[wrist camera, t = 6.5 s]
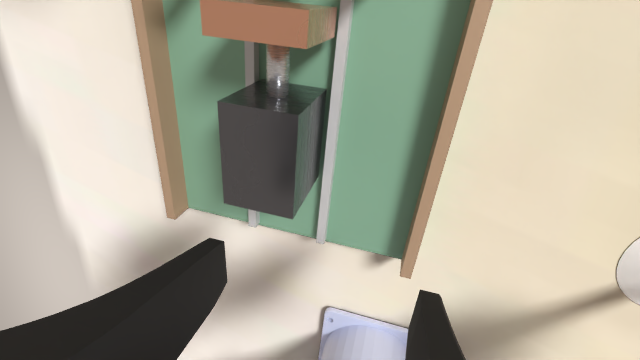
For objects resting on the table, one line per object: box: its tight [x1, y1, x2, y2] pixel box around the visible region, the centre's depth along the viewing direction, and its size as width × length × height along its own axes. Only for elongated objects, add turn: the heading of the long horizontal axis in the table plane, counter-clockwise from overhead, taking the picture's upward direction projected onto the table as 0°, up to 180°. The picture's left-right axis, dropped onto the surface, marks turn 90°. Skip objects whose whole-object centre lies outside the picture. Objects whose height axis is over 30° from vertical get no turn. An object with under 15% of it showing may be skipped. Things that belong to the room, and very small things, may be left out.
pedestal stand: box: [200, 0, 337, 220], centre depth 16 cm, size 9×4×5 cm, turn 175°
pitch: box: [131, 0, 493, 279], centre depth 16 cm, size 19×16×6 cm
